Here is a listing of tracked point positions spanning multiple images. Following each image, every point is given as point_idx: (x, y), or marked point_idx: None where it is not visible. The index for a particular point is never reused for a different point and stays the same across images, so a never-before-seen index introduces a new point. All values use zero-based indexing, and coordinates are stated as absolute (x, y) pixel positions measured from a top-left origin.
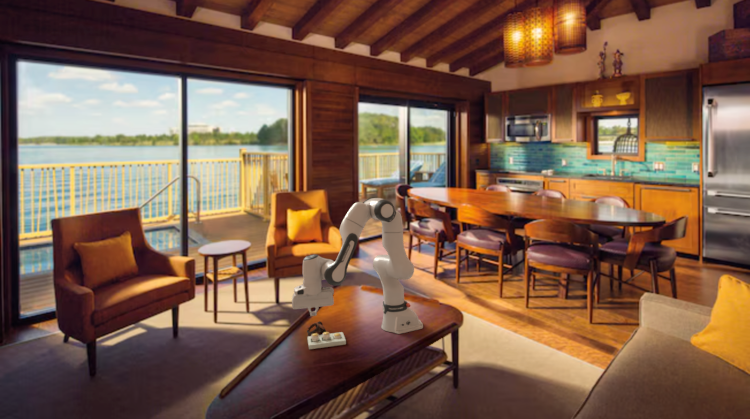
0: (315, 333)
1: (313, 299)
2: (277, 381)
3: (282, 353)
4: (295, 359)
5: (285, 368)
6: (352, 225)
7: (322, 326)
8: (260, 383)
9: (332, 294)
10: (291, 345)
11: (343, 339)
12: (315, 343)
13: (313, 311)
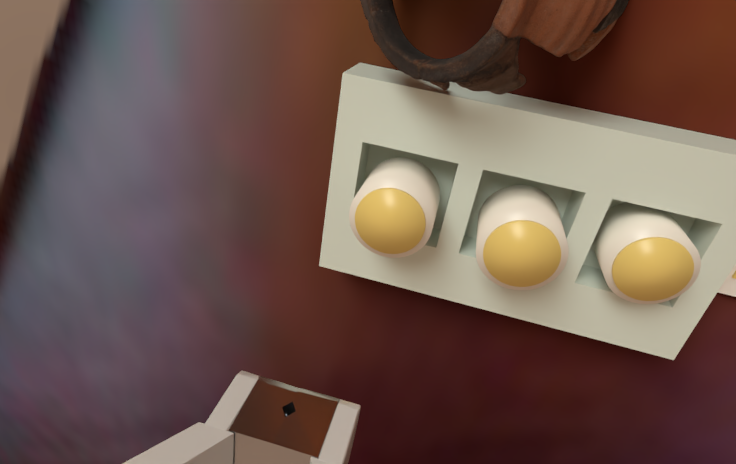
0: (402, 201)
1: None
2: (136, 423)
3: (139, 165)
4: (226, 293)
5: (167, 350)
6: None
7: (585, 6)
8: (65, 397)
9: None
10: (206, 55)
11: (665, 333)
12: (381, 264)
13: (278, 453)
